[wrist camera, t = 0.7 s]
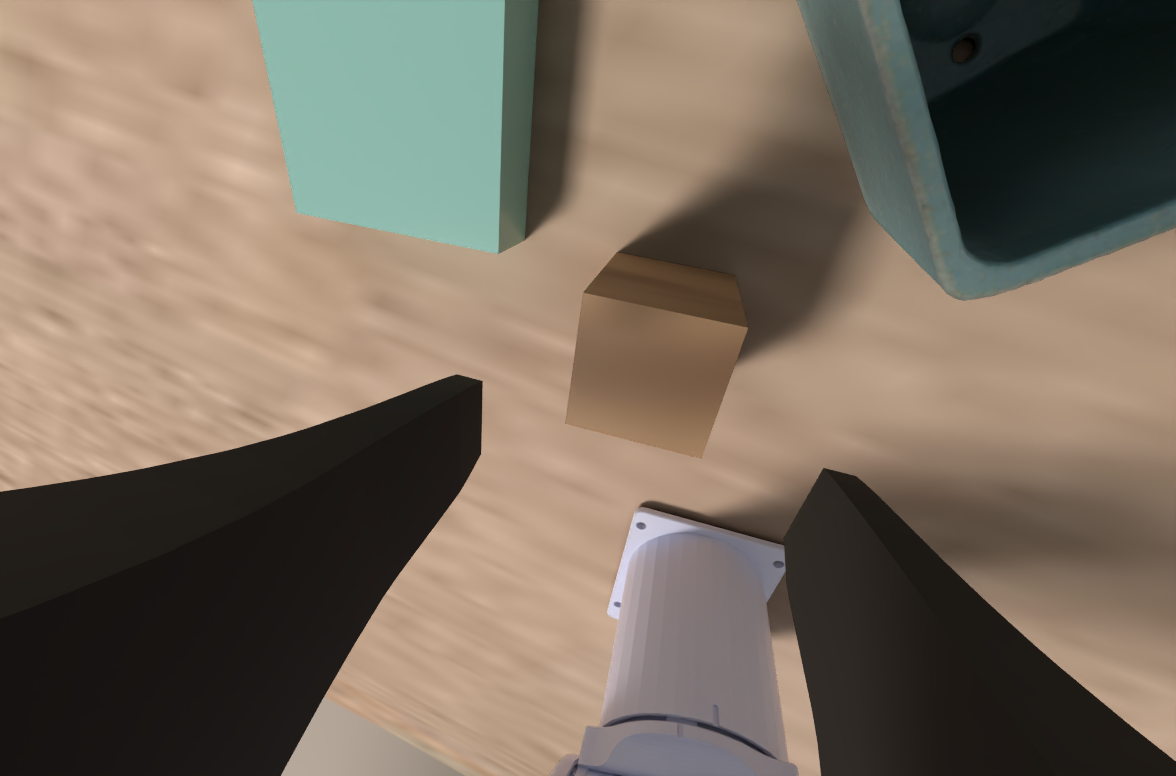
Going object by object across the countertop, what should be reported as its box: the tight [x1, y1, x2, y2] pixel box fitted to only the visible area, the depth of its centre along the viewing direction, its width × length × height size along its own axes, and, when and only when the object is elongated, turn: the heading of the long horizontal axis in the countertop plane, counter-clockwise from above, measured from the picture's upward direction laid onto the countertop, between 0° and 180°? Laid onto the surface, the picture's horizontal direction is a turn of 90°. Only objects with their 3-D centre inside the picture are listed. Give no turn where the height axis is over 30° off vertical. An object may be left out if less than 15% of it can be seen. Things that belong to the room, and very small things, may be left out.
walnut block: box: [565, 252, 748, 458], centre depth 15 cm, size 4×4×6 cm
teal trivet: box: [252, 0, 539, 254], centre depth 14 cm, size 8×8×3 cm
